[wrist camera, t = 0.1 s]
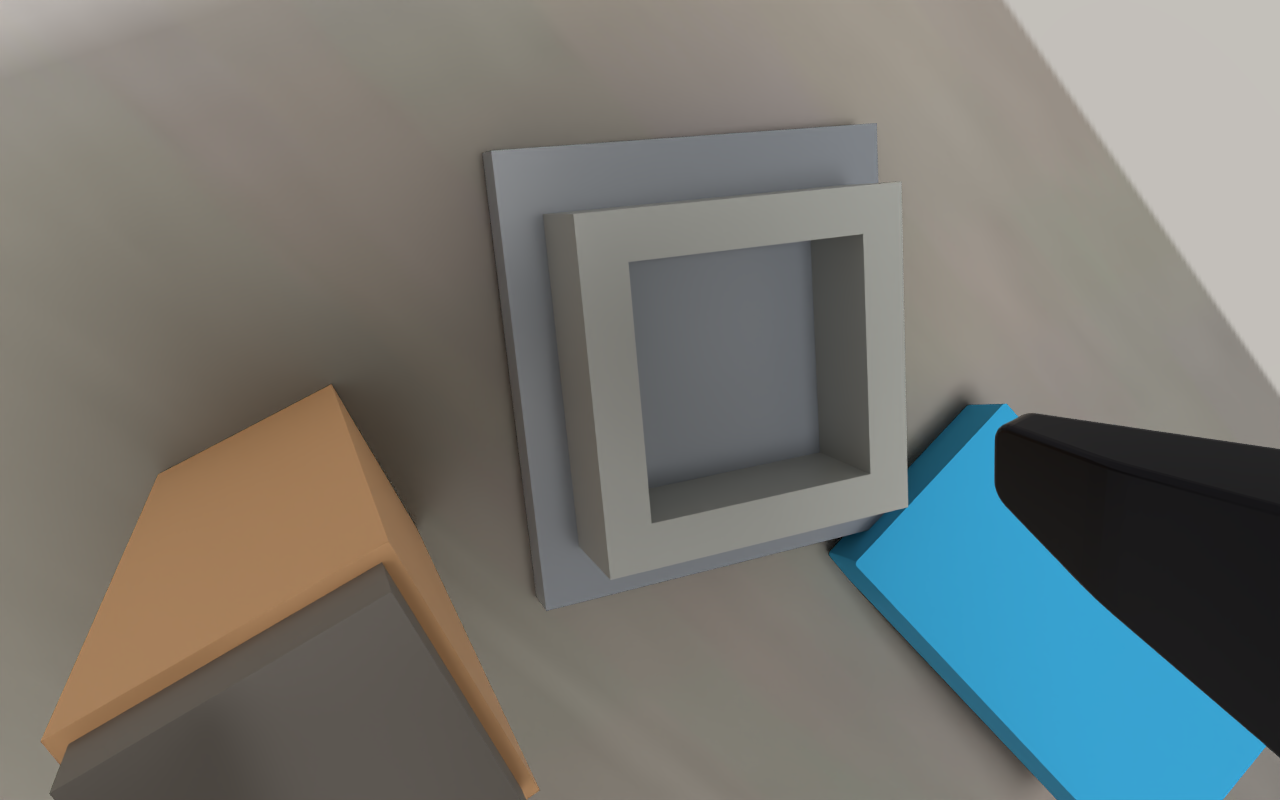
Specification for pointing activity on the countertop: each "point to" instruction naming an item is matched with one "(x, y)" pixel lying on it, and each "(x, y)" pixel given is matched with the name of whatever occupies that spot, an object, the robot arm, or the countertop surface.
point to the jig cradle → (699, 349)
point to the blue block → (1035, 638)
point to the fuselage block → (280, 640)
